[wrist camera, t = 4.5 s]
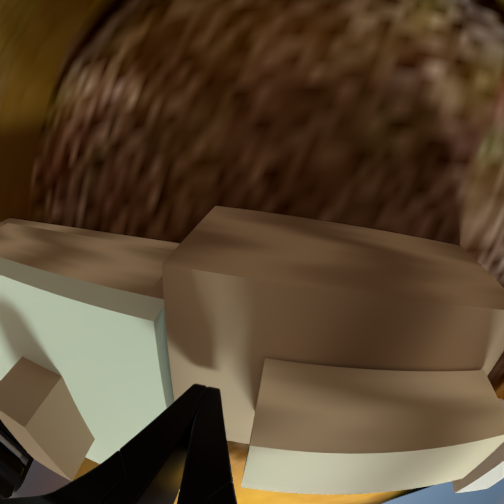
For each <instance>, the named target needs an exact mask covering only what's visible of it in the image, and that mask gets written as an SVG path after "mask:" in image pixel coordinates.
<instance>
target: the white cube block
mask: <svg viewBox="0 0 504 504" xmlns="http://www.w3.org/2000/svg"><path fill="white" fill-rule="evenodd" d="M498 399H499V398H498ZM499 402H500V404H501V406H502V408H503V410H504V400H502V399H499ZM502 478H504V442H503V443H502V444H501V445H500V446H499V447H498V448H497V449H496V450H495V451H494V452H492V453H491V454H490V455H489V456H488V457H487V458H486V459H485V460H484V461H483V462H481V463H480V464H479V465H478V466H477V467H476V468H475V469H473V470H472V471H471V472H470V473H469V474H467V475H466V476H465V477H464V478H462V479H458V480H454V481H452V482H453V487H454V492H455V493H461V492H468V491H475V490H481V489H487V488H489V487H490V486H492V485H494V484H495V483H496V482H498V481H499V480H501V479H502Z"/></svg>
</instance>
